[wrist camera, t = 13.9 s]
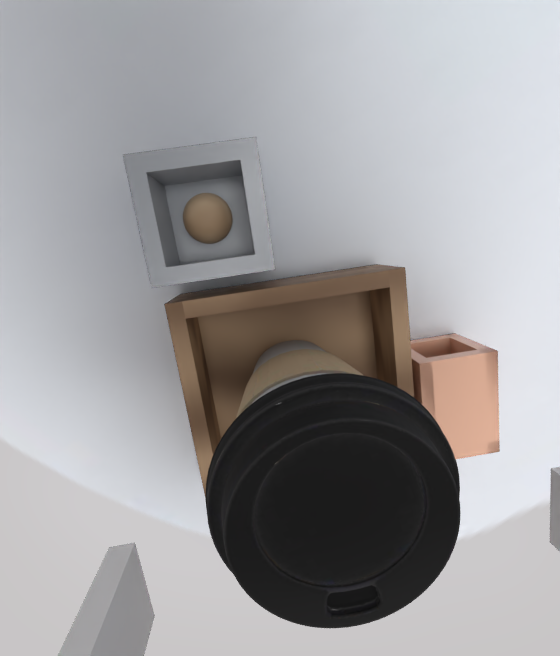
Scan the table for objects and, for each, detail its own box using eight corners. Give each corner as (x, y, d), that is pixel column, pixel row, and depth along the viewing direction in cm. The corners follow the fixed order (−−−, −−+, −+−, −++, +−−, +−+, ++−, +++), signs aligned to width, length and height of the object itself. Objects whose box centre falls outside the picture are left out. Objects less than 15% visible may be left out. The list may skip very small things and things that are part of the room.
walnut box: (180, 294, 26) (164, 304, 21) (376, 264, 27) (405, 267, 22) (216, 471, 29) (209, 516, 24) (392, 441, 30) (420, 479, 25)
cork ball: (183, 199, 24) (173, 192, 21) (229, 193, 24) (226, 185, 21) (192, 247, 25) (184, 246, 22) (237, 240, 25) (235, 239, 22)
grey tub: (148, 173, 24) (122, 154, 19) (255, 159, 25) (256, 136, 20) (170, 280, 26) (151, 288, 21) (270, 265, 26) (275, 269, 21)
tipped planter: (390, 343, 28) (419, 363, 23) (454, 333, 28) (497, 350, 23) (397, 428, 29) (426, 464, 24) (458, 418, 30) (499, 451, 25)
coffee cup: (279, 460, 28) (309, 691, 13) (200, 365, 26) (134, 513, 11) (382, 388, 27) (532, 546, 13) (309, 285, 25) (388, 333, 11)
